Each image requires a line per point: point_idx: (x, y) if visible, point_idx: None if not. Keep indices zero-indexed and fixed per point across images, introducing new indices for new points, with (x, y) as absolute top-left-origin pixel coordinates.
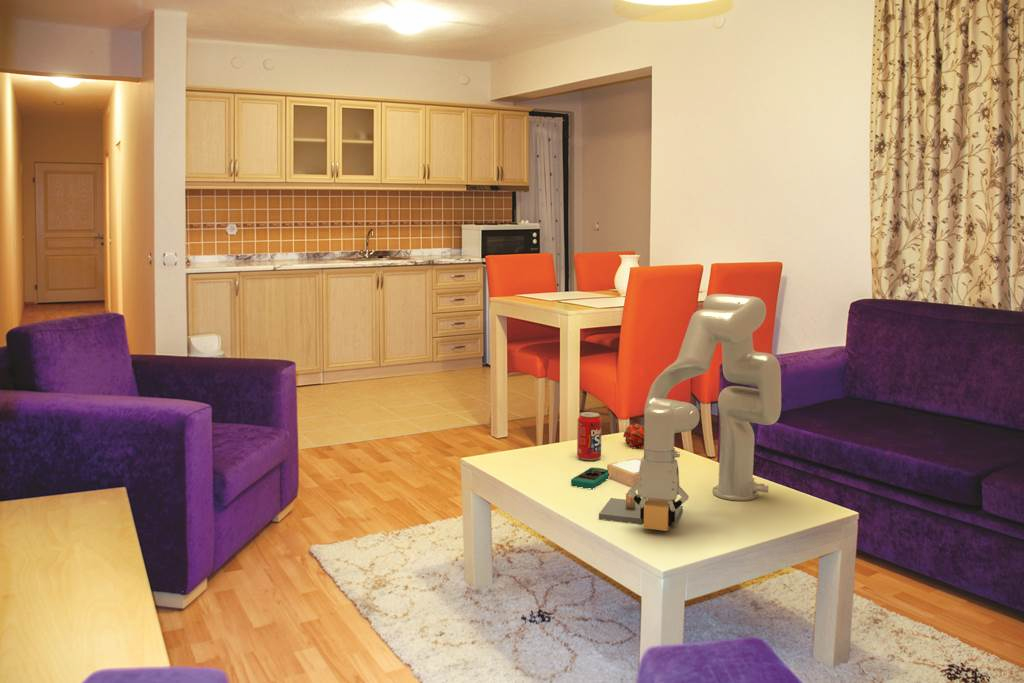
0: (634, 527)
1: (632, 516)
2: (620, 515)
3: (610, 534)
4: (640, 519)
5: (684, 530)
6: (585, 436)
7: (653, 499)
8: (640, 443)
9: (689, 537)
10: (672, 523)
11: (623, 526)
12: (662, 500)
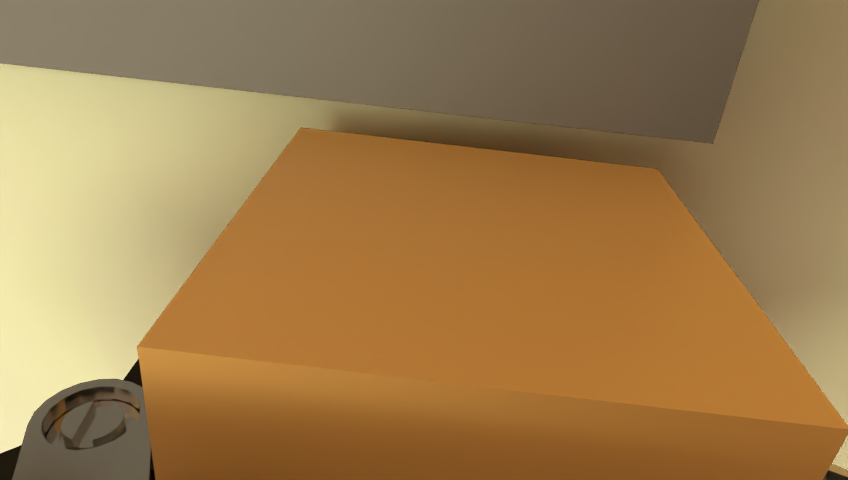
0: (168, 200)
1: (23, 6)
2: None
3: (7, 433)
4: (180, 80)
5: (813, 167)
6: None
7: (307, 431)
8: None
9: (821, 369)
10: (675, 135)
11: (33, 196)
12: (566, 465)
